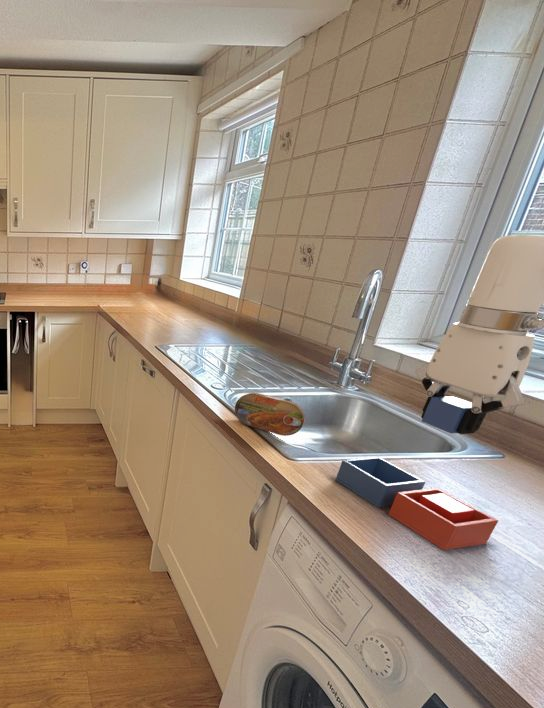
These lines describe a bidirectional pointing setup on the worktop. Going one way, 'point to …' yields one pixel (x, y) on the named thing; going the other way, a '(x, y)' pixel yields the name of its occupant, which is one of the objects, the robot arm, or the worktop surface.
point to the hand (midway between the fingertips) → (446, 424)
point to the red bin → (441, 521)
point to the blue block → (446, 412)
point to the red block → (447, 507)
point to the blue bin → (376, 480)
